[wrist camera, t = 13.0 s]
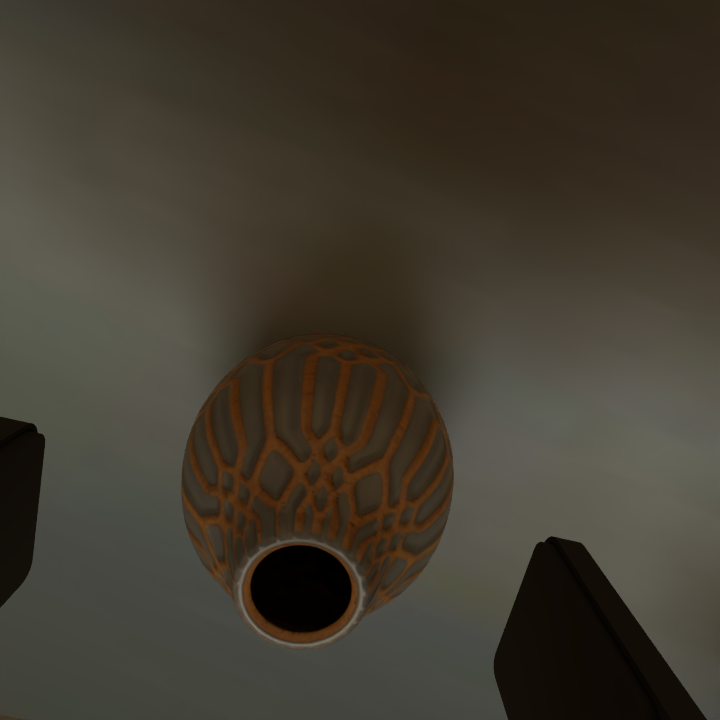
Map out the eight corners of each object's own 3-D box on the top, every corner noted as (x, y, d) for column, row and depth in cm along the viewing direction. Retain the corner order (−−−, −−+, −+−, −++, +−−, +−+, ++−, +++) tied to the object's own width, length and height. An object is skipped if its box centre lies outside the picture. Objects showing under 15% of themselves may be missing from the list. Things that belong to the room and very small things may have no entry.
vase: (476, 411, 18) (583, 581, 9) (338, 549, 19) (321, 811, 11) (317, 270, 17) (273, 315, 8) (182, 426, 18) (22, 607, 9)
